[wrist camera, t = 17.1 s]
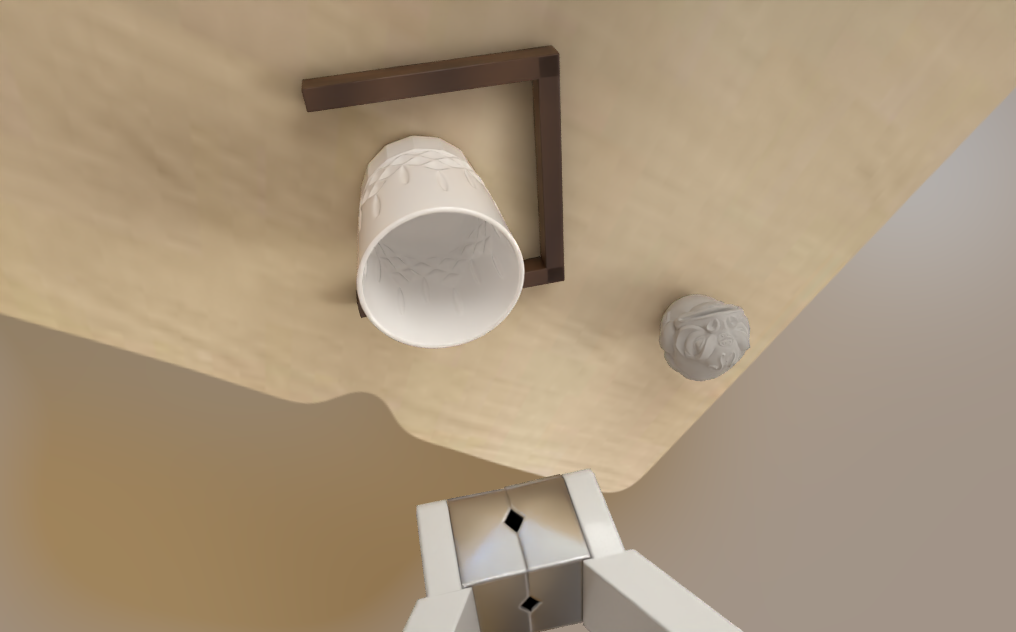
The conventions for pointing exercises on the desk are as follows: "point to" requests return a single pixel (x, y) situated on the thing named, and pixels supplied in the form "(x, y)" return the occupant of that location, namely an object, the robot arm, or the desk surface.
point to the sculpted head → (703, 336)
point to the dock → (470, 75)
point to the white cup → (433, 247)
